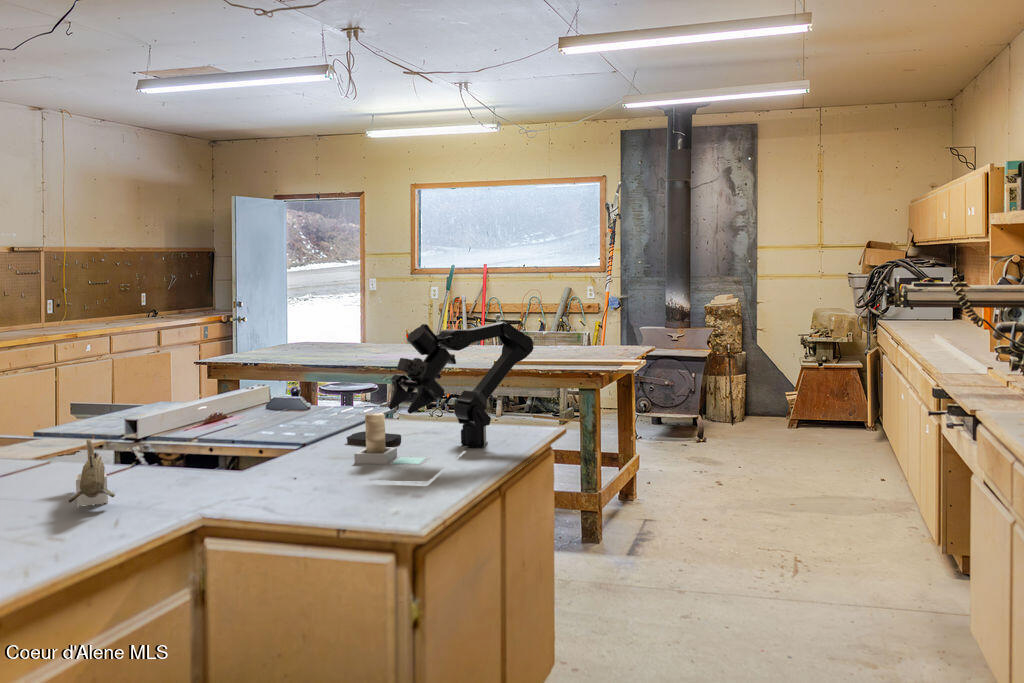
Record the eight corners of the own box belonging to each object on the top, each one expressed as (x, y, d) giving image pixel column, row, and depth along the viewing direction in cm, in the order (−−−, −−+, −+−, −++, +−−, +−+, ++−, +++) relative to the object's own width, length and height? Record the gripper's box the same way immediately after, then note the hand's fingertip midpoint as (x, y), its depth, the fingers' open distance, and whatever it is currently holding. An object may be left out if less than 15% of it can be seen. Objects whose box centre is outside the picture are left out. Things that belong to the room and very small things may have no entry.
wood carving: (112, 481, 203) (110, 436, 202) (117, 516, 172) (114, 463, 171) (71, 485, 199) (68, 440, 198) (68, 522, 168) (64, 468, 167)
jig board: (431, 461, 219) (430, 448, 218) (421, 469, 210) (420, 455, 209) (366, 459, 222) (366, 446, 222) (353, 467, 213) (353, 453, 213)
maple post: (388, 458, 218) (387, 413, 218) (382, 462, 214) (380, 416, 213) (370, 457, 219) (369, 413, 218) (363, 461, 214) (362, 416, 214)
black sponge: (405, 447, 239) (404, 434, 238) (386, 453, 231) (386, 440, 231) (361, 442, 247) (361, 430, 247) (342, 448, 240) (342, 435, 239)
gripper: (395, 345, 230) (362, 388, 223) (434, 348, 215) (399, 395, 209) (419, 370, 235) (387, 413, 229) (459, 376, 221) (425, 421, 215)
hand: (399, 410), depth 220 cm, fingers open, 9 cm apart
